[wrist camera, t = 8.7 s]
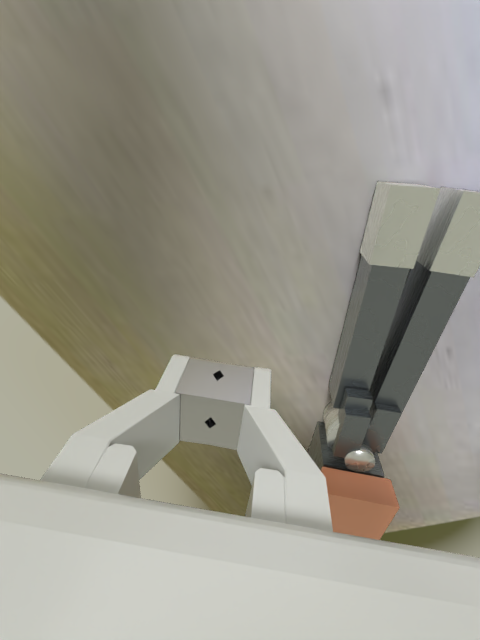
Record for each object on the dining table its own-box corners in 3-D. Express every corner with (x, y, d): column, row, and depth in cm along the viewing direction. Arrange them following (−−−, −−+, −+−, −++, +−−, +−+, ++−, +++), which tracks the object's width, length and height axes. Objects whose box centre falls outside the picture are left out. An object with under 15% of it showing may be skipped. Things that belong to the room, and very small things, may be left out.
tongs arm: (358, 427, 26) (371, 473, 22) (317, 422, 26) (323, 466, 22) (440, 185, 17) (484, 194, 13) (377, 181, 17) (403, 188, 13)
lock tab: (368, 519, 24) (374, 547, 22) (306, 507, 24) (308, 534, 23) (390, 479, 22) (399, 507, 20) (322, 466, 22) (325, 493, 20)
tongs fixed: (351, 476, 29) (361, 523, 25) (302, 466, 29) (305, 512, 25) (481, 191, 17) (536, 201, 13) (397, 180, 17) (428, 186, 13)
